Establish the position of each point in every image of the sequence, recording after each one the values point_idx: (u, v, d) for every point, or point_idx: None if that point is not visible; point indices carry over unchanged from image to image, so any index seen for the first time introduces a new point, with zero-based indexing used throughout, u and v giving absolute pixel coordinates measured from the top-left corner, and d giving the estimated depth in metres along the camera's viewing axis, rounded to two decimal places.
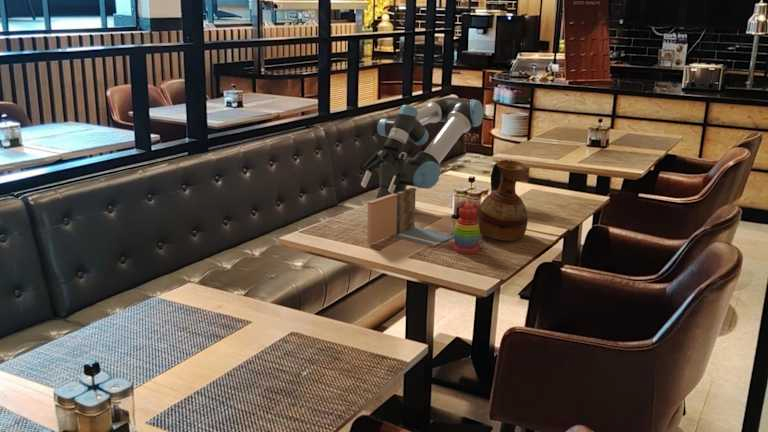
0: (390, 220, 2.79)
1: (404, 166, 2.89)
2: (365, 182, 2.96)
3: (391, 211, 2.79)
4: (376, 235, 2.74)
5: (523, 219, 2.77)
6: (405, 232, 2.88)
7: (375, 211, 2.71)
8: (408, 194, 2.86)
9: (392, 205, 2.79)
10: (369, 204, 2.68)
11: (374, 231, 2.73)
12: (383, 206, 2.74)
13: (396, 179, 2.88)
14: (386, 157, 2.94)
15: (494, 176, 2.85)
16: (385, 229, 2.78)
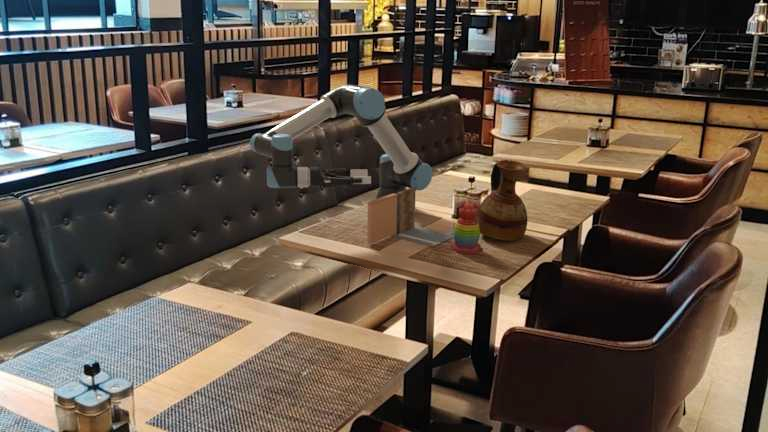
0: (390, 220, 2.79)
1: (339, 181, 2.66)
2: (362, 173, 2.79)
3: (391, 211, 2.79)
4: (376, 235, 2.74)
5: (523, 219, 2.77)
6: (405, 232, 2.88)
7: (375, 211, 2.71)
8: (408, 194, 2.86)
9: (392, 205, 2.79)
10: (369, 204, 2.68)
11: (374, 231, 2.73)
12: (383, 206, 2.74)
13: None
14: None
15: (494, 176, 2.85)
16: (385, 229, 2.78)
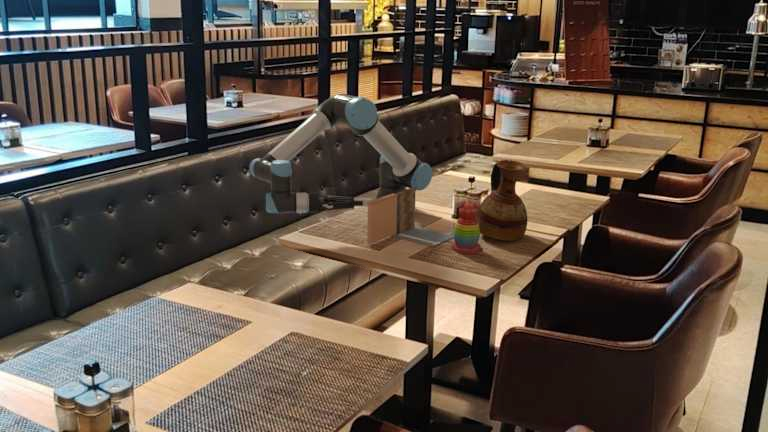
0: (390, 220, 2.79)
1: (341, 205, 2.71)
2: (366, 202, 2.77)
3: (391, 211, 2.79)
4: (376, 235, 2.74)
5: (523, 219, 2.77)
6: (405, 232, 2.88)
7: (375, 211, 2.71)
8: (408, 194, 2.86)
9: (392, 205, 2.79)
10: (369, 204, 2.68)
11: (374, 231, 2.73)
12: (383, 206, 2.74)
13: None
14: None
15: (494, 176, 2.85)
16: (385, 229, 2.78)
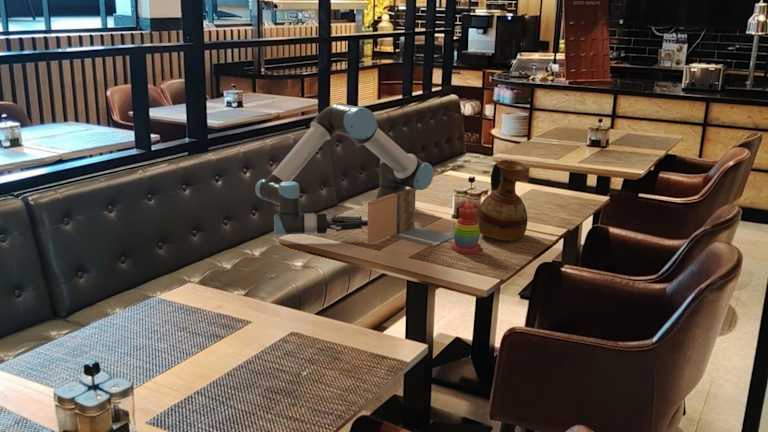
0: (390, 220, 2.79)
1: (349, 226, 2.72)
2: None
3: (391, 211, 2.79)
4: (376, 235, 2.74)
5: (523, 219, 2.77)
6: (405, 232, 2.88)
7: (375, 211, 2.71)
8: (408, 194, 2.86)
9: (392, 205, 2.79)
10: (369, 204, 2.68)
11: (374, 231, 2.73)
12: (383, 206, 2.74)
13: None
14: None
15: (494, 176, 2.85)
16: (385, 229, 2.78)
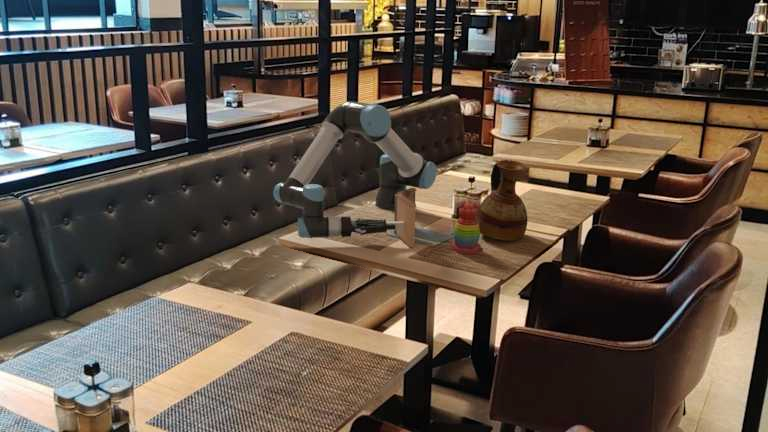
0: None
1: (374, 229, 2.68)
2: None
3: None
4: None
5: (523, 219, 2.77)
6: None
7: None
8: (408, 194, 2.86)
9: None
10: (413, 207, 2.66)
11: None
12: None
13: None
14: None
15: (494, 176, 2.85)
16: None
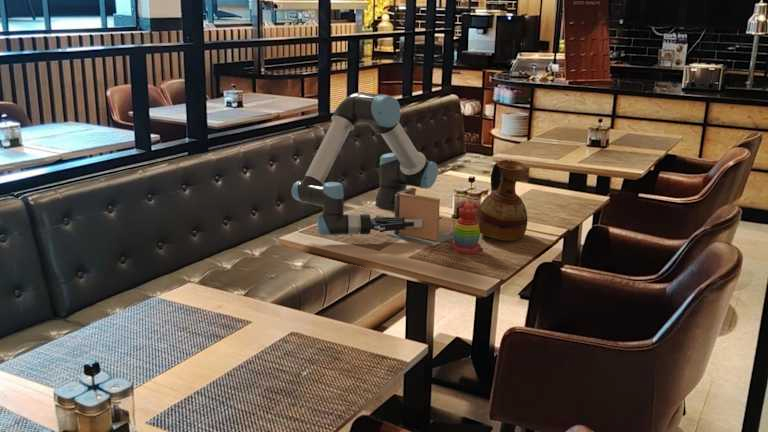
0: None
1: (393, 227, 2.72)
2: None
3: None
4: None
5: (523, 219, 2.77)
6: None
7: None
8: None
9: None
10: (439, 201, 2.74)
11: None
12: None
13: None
14: None
15: (494, 176, 2.85)
16: None
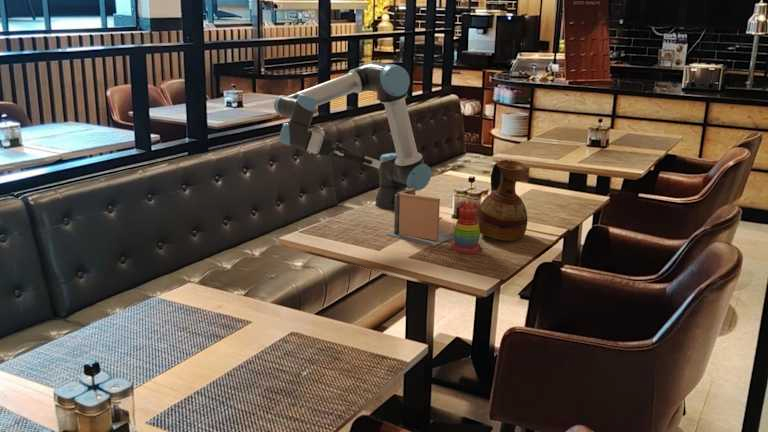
0: None
1: (352, 157, 2.73)
2: None
3: None
4: None
5: (523, 219, 2.77)
6: None
7: None
8: None
9: None
10: (439, 201, 2.74)
11: None
12: None
13: (366, 162, 2.77)
14: None
15: (494, 176, 2.85)
16: None
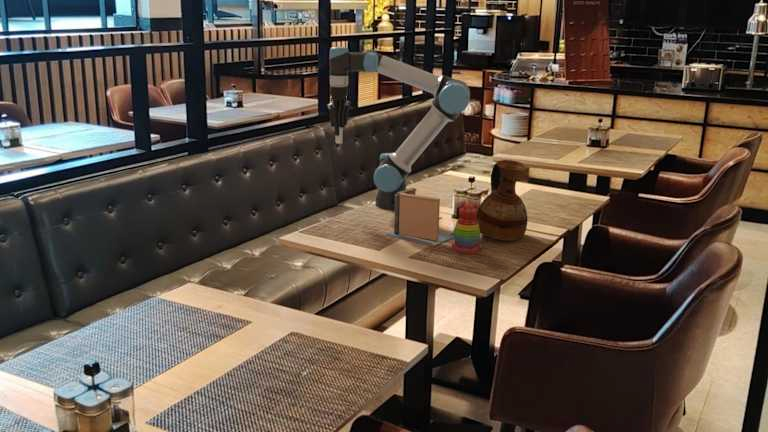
0: None
1: (331, 117, 3.00)
2: None
3: None
4: None
5: (523, 219, 2.77)
6: None
7: None
8: None
9: None
10: (439, 201, 2.74)
11: None
12: None
13: None
14: None
15: (494, 176, 2.85)
16: None
